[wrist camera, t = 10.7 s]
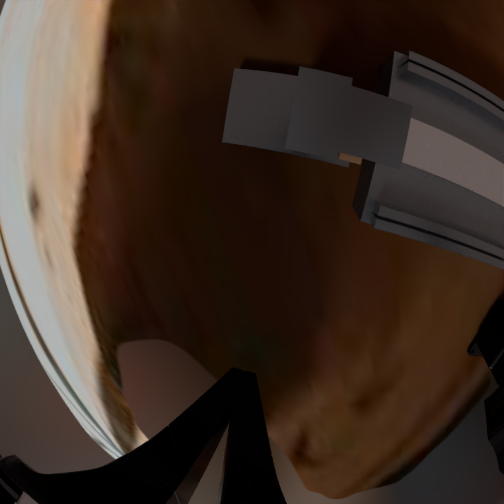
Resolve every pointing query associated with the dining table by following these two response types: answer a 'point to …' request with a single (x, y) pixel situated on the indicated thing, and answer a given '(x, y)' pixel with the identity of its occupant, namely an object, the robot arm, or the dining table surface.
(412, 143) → the light grey flat bar
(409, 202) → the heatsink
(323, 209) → the dining table surface
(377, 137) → the clip
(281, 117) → the clip rail
